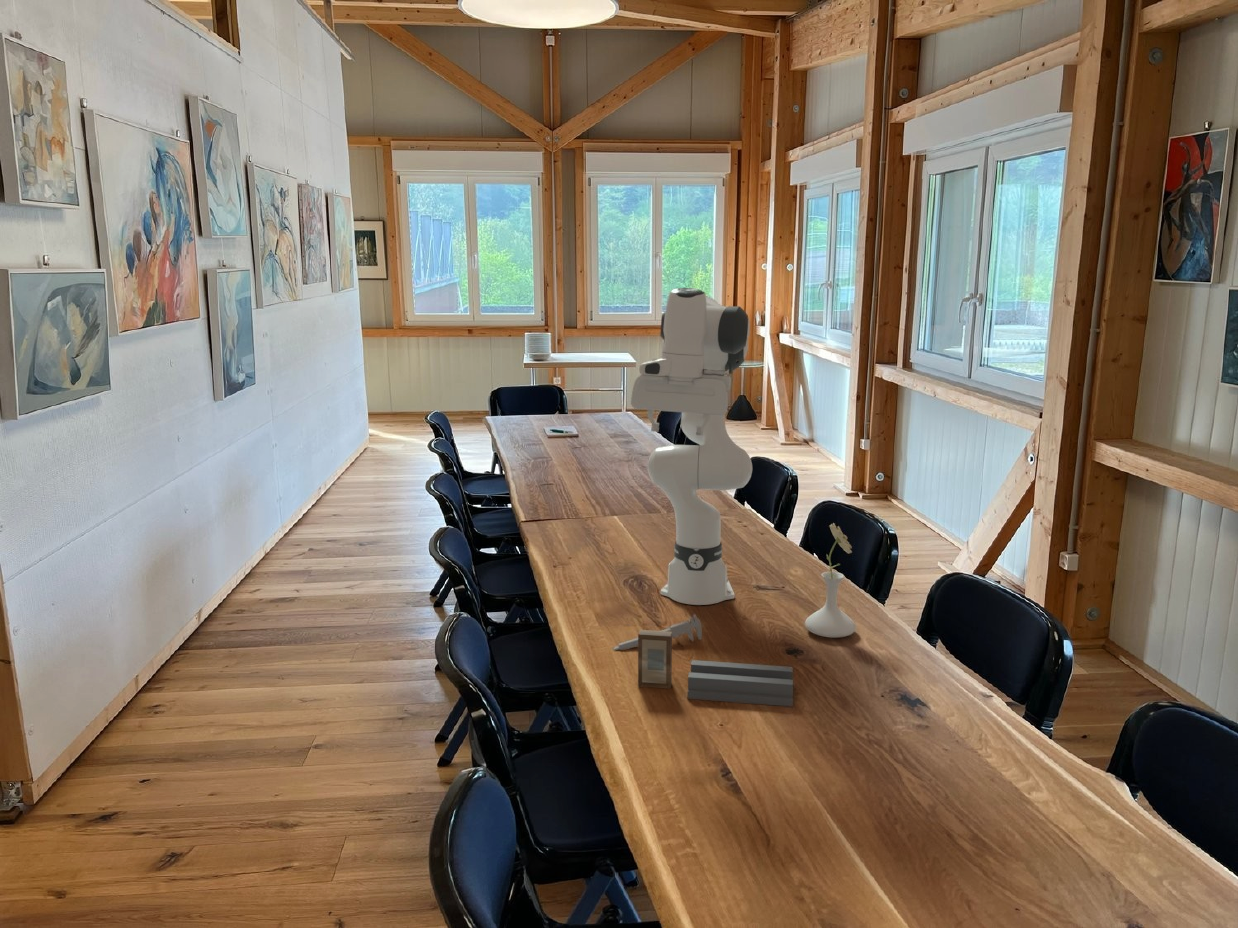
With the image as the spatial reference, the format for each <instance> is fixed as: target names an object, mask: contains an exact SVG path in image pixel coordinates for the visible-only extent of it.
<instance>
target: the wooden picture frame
mask: <svg viewBox="0 0 1238 928" xmlns="http://www.w3.org/2000/svg"><path fill="white" fill-rule="evenodd" d="M637 636H638V637H637V638H638V646H637V649H638V651H637V652H638V653H637V656H638V657H637V662H638V663H637V664H638V665H637V666H638V667H637V673H638V674H637V683H638V684H637V686H638V687H642V688H643V687H644V688H645V687H646V688H657V689H658V688H659V689H671V687H672V673H673V672H672V671H673V668H672V667H673V666H672V663H673V658H672V657H673V652H672V651H673V642H672V641H673V637H672V632H668V631H661V630H652V629H651V630H650V629H649V630H648V629H639V632H638V635H637Z"/></svg>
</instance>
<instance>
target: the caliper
mask: <svg viewBox="0 0 1238 928" xmlns="http://www.w3.org/2000/svg"><path fill="white" fill-rule="evenodd" d="M688 617H689V620H685V621H682V622H678V623H675V624H672V625H669V627H668V628H665V629H663V630H660V631H668V632H672V639H675V638H678V637H681V636H683V635H684V634H686V635H687V637H688V638H689V640H690V641H691V642H694V641H695V638H694V633H693V631H692V630H693V629H695V633H696V636H697V640H699V641H700V640H702V633H703V632H702V629H703V628H702V627H703V626H702V624H701V620H700V618H699V617H697V615H696V614H695V613H694V614H693V617H692V616H691V615H688ZM636 647H638V637H636V638H632V639H629V640H627V641H623V642H619V643H618V645H616V646H614V647H613V648H612V649H613V651H618V650H619V651H624V650H625V651H626V650H630V649H632V648H636Z"/></svg>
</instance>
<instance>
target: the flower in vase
mask: <svg viewBox="0 0 1238 928" xmlns="http://www.w3.org/2000/svg"><path fill="white" fill-rule="evenodd" d="M829 528H830V531H831V533H832V536H833V538H834V539H835V542H834V543H833V545H832V547H831V549H830V552H829V555H828V554H826V559H827V560H828V562H829V563H828V564H829V568H828V569H829V571H825V572H822V573H821V574H820V575H821V577H822V579H823V580H824V583H825V587H826V600H825V604H824V605H823V606H822V607H821V608H819V609H818V610H817V611H815V612H813V613H811V614H810V615H809V616H808V617H807V618H806V620H805V621H804V626H805V627H806V629H807V631H809V632H811V633H813V634H814V635H817V636H820V637H824V638H825V637H826V638H833V639H834V638H837V639H839V638H844V637H847V636H851V635H852V634H854V633H855V631H856V629H857V627H856V624H855V621H854V620H853V619H852V618H851V617H850V616H848V615H847V614H846V613H845V612H844V611H842V610H841V609H840V608H839V606H838V603H837V598H838V597H837V596H838V590H839V585H840V583H841V582H842V580H843V579H844V578H845V575H844V574H843V573H841V572H836V571H833V568H835V567H837V566H841V563H839V562H838V563H837V564H835V565H833V566H832V562H831V557H832V553H833V551H834V548H835V546H836V544H838V545H839V547H841V548H842V550H843V551H845V552H846V553H847V554H852V553H853V551H852V550H851V549H853V548H852V547H853V546H852V545H851V544H850V542H849V541H848V536H847V535H845V534H844V533H843V532H842V529H841V527H840V526H839V525H838V526H836V523H834V522H833V523H831V524H830V525H829Z"/></svg>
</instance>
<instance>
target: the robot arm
mask: <svg viewBox="0 0 1238 928" xmlns="http://www.w3.org/2000/svg"><path fill="white" fill-rule="evenodd" d="M750 323H751V322H750V319H749V316H748V314H747V312H746V311H745V309H743V307H741V306H733V305H732V306H724V305H722V304H721V303H718V301H717V300H716V299H714V298H712V297H710V296H708V295H706V292H705V291H704V290H701V289H700V288H699V289H698V288H693V287H677V288H674V289H672V290H670V291H669V294H668V298H667V301H666V305H665V311H664V312H663V313H661V321H660V333H659V334H660V335H659V336H660V337H661V338H662V343H661V357H660V358H654V359H652V360H648V361H645V362H642V363H640V364H639V371H638V372H639V373H640V375H638V376H637V377H636V379H635V380H634V382H633V387H632V391H631V398H630V399H631V400H630V405H631V407H632V408H633V409H635V410H647V412H646V416H647V418H648V420H649V421H650V423H651V426H650V427H651V429H650V430H651V431H650V432H653V433H654V432H655V433H659V430H660V422H656V420H655V418H654V415H655V414H656V413H655V411H658V412H659V411H661V412H673V413H681V417H680V418H681V419H680V428H681V430H682V432H683V433H684V435H685V437H687V438H688V439H689V440H690V441H692V442H693V443H696V445H693V444H672V445H671V444H669V445H663V446H659V447H656V448H654V450H653V451H652V452H651V454H650V455H649V458H648V460H647V466H646V468H647V469H646V470H647V473H648V476H649V478H650V480H651V481H652V483H653V484H654V485H655V486H656V487H658V488H659V489H660V490H661V491H663V492H664V494H665V495H666V496H667V498H668V500H669V501H670V503H671V505H672V507H673V510H674V516H675V530H676V531H675V532H676V535H675V537H676V539H675V541H674V547H673V550H674V551H673V552H674V554H673V556H674V558H673V559H672V560H671V561H670V562H669V563H668V567H667V568H668V571H667V583H666V584H665V585H664V586H663V587H662V588H661V589H660V595H662V596H665V597H668V598H669V599H671V600H673V601H675V602H677V603H681V604H686V605H692V606H693V605H694V606H702V605H703V606H705V605H706V606H708V605H713V604H718V603H721V602H723V601H726V600H733V599H735V597H736V596H735V592H734V589H733V588H732V586H731V582H730V580H729V577H728V565H726V563H725V562H724V561H723V559H722V558H723V546H722V545H723V543H722V541H721V530H722V529H721V527H722V525H721V524H722V523H721V518H722V517H721V514H720V512H719V510H718V508H716V507H715V506H714V505H713V504H712V503H709V502H707V501H705V500H703V499H702V498H701V497H700V496H699V495H698V493H697V491H699V490H702V491H703V490H704V491H706V490H708V491H709V490H710V491H729V490H736V489H742V488H744V487H745V486H746V485H747V484H748V483H749V481H750V480H751V478H752V474H753V463H752V460H751V457H750V455H749V454H748V452H747V451H746V450H745V449H744V448H742V447H740V446H739V445H738V444H737V443H735V442H734V441H733V440H732V439H731V437H730V435H729V434H728V432H727V427H726V413H727V412H728V407H729V405H728V404H729V403H728V392H730V390H731V388H732V377H731V375H733V371H735V370H736V369H739V368H740V367H741V366H742V364H743V363H744V362H745V358H746V357H747V354H748V351H749V342H748V341H749V337H750V330H751V324H750ZM727 371H728V373H727Z"/></svg>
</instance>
